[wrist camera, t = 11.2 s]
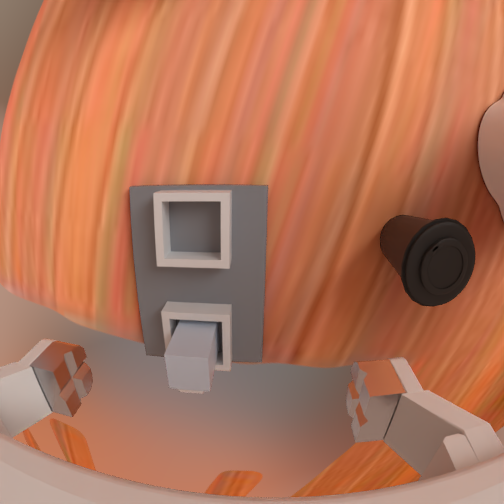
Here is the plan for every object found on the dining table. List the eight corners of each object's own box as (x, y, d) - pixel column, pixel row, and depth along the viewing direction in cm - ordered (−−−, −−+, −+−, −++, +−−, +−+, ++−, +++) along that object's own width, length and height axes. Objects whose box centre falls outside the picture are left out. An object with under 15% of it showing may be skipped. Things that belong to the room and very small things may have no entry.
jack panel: (267, 185, 31) (268, 188, 28) (261, 357, 37) (261, 375, 34) (133, 185, 32) (119, 189, 28) (148, 350, 37) (140, 366, 34)
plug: (218, 316, 34) (208, 358, 27) (219, 352, 36) (210, 397, 28) (182, 314, 34) (164, 354, 27) (185, 350, 36) (170, 394, 28)
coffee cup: (383, 191, 31) (429, 206, 22) (440, 216, 32) (493, 238, 22) (357, 262, 33) (391, 300, 24) (415, 281, 34) (458, 319, 24)
